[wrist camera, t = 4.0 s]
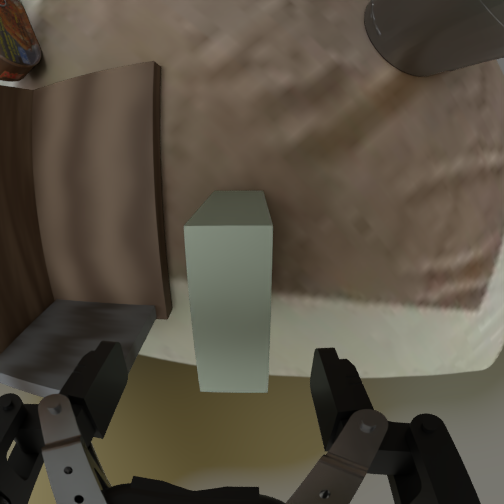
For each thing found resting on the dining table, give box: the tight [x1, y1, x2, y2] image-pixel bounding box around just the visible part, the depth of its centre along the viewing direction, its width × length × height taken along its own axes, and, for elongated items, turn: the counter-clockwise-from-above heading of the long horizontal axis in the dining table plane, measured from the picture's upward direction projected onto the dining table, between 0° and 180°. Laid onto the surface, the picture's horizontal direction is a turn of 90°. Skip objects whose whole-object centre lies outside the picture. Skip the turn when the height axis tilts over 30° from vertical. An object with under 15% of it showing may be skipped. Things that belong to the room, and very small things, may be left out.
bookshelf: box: [0, 61, 172, 398], centre depth 18 cm, size 14×22×14 cm, turn 0°
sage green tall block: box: [184, 191, 273, 393], centre depth 21 cm, size 4×10×12 cm, turn 0°
